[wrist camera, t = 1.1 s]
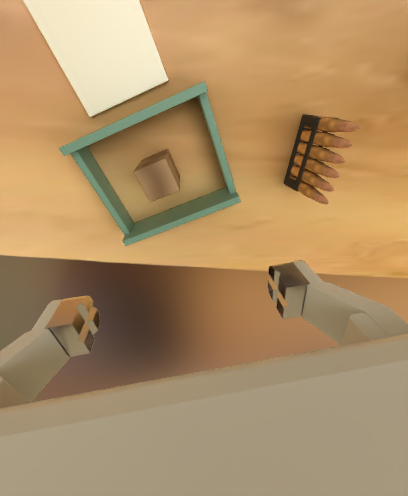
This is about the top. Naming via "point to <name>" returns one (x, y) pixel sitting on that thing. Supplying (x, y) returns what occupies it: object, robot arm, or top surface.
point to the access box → (173, 215)
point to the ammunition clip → (316, 155)
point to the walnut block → (158, 175)
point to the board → (101, 48)
